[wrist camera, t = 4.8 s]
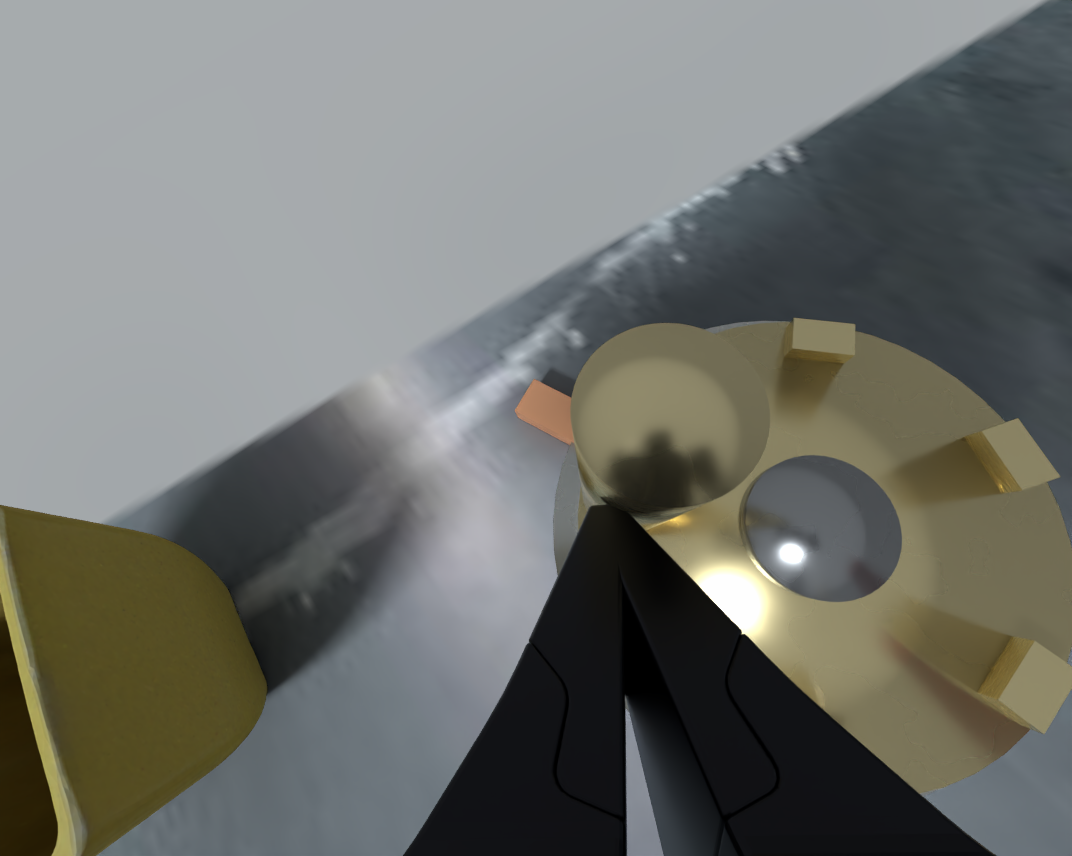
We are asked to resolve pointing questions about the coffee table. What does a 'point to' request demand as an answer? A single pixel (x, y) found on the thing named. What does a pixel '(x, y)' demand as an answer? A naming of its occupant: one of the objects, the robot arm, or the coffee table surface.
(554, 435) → the tab
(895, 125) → the coffee table surface
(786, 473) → the base plate
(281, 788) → the coffee table surface
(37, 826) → the flower pot
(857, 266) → the coffee table surface
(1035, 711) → the crank disc
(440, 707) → the coffee table surface
